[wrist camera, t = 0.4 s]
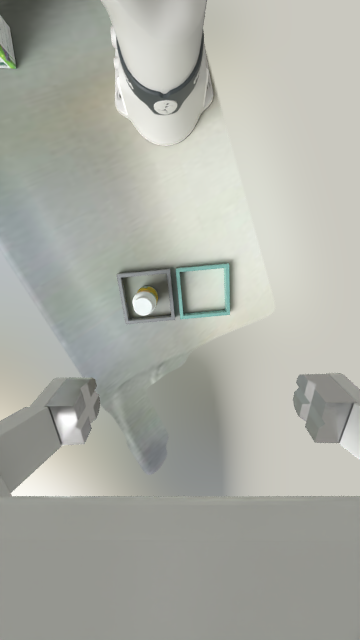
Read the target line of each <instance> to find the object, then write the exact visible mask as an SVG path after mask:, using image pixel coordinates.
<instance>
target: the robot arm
mask: <svg viewBox="0 0 360 640" xmlns="http://www.w3.org/2000/svg"><path fill="white" fill-rule="evenodd" d="M101 2H102V3H103V4H104V6H105V8H106V9H107V12H108V14H109V17H110V19H111V22H112V26H111V39H112V44H113V47H114V48H115V57H114V66H115V105H116V109H117V111H118V112H119V113H120V114H121V115H123V116H124V117H126V118H127V119H129V120H130V121H131V122H132V123H133V125H134V126H135V128H136V129H137V130H138V132H139V133H140V134H141V135H142V136H143V137H144V138H145V139H147V140H148V141H150V142H152V143H154V144H157V145H162V146H169V145H174V144H177V143H179V142H181V141H182V140H184V139H185V138H186V137H187V136H188V135H189V134H190V133H191V132H192V130H193V129H194V127H195V125H196V123H197V121H198V119H199V117H200V115H201V113H202V112H203V111H204V110H205V109H206V108H207V107H208V106H209V105H210V104H211V103H212V100H213V89H212V83H211V78H210V73H209V67H208V62H207V56H206V51H205V46H204V33H203V23H204V17H205V9H206V2H207V0H101ZM120 96H121V98H122V99H121V98H120ZM296 383H297V385H298V386H299V388H298V389H297V390H296V391H295V392H294V398H293V401H294V407H295V410H296V412H297V414H298V416H299V417H300V418H302V419H303V420H305V421H306V426H305V427H306V428H307V431H308V432H309V434H310V435H311V437H312V439H313V440H314V442H317V443H340V445H341V446H342V447H344V448H345V449H346V450H347V451H349V452H350V453H351V454H353V455H354V456H355V457H356V458H358V459H359V460H360V389H359V388H358V387H357V386H355V385H354V384H353V383H352V382H351V381H350V380H349V379H348V378H347V377H346V376H344V375H343V374H341V373H329V374H310V375H309V374H307V375H299V376H298V378H297V382H296ZM96 387H97V384H96V381H95V379H94V378H55V379H53V380H52V381H51V383H50V384H49V385H48V386H47V387H46V388H45V390H44V391H43V392H42V393H41V394H40V395H39V396H38V398H37V399H36V400H35V401H34V402H33V403H32V405H31V406H30V407H25V408H23V409H21V410H19V411H17V412H16V413H14V414H12V415H10V416H8V417H7V418H5V419H3V420H1V421H0V640H360V496H305V497H304V496H284V497H283V496H272V497H270V496H266V497H264V496H259V497H207V496H205V497H202V496H198V497H197V496H195V497H194V496H193V497H192V496H190V497H189V496H183V497H178V496H174V497H173V496H168V497H167V496H163V497H162V496H160V497H159V496H158V497H157V496H154V497H153V496H135V497H134V496H133V497H132V496H128V497H127V496H117V497H116V496H111V497H110V496H98V497H97V496H96V497H95V496H92V497H91V496H89V497H88V496H87V497H86V496H85V497H84V496H75V497H74V496H69V497H67V496H66V497H65V496H55V497H53V496H45V497H44V496H39V497H37V496H36V497H35V496H32V497H31V496H29V497H27V496H17V497H16V496H12V495H11V492H12V491H13V490H14V489H16V488H17V487H18V486H19V485H20V484H21V483H22V482H23V481H24V480H25V479H26V478H27V477H29V476H30V475H31V474H32V473H33V472H34V471H35V470H36V469H37V468H38V467H39V466H40V465H42V464H43V463H44V462H45V461H46V460H47V459H48V458H49V457H50V456H51V455H53V454H54V453H55V452H56V451H57V450H58V449H59V448H60V447H61V445H73V444H85V442H86V440H87V437H88V435H89V433H90V431H91V429H92V428H91V424H90V423H92V422H93V421H94V420H95V419H96V418H97V416H98V413H99V408H100V397H99V394H98V393H96V392H95V389H96Z"/></svg>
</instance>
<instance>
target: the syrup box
mask: <svg viewBox="0 0 360 640" xmlns="http://www.w3.org/2000/svg"><path fill="white" fill-rule="evenodd" d="M0 68H14V69H16V63H15V56H14V50H13V44H12V38H11V32H10V27H9V26H8V25H7V23H6V22H5V20H4V19H3V18H2V17H1V15H0Z"/></svg>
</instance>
